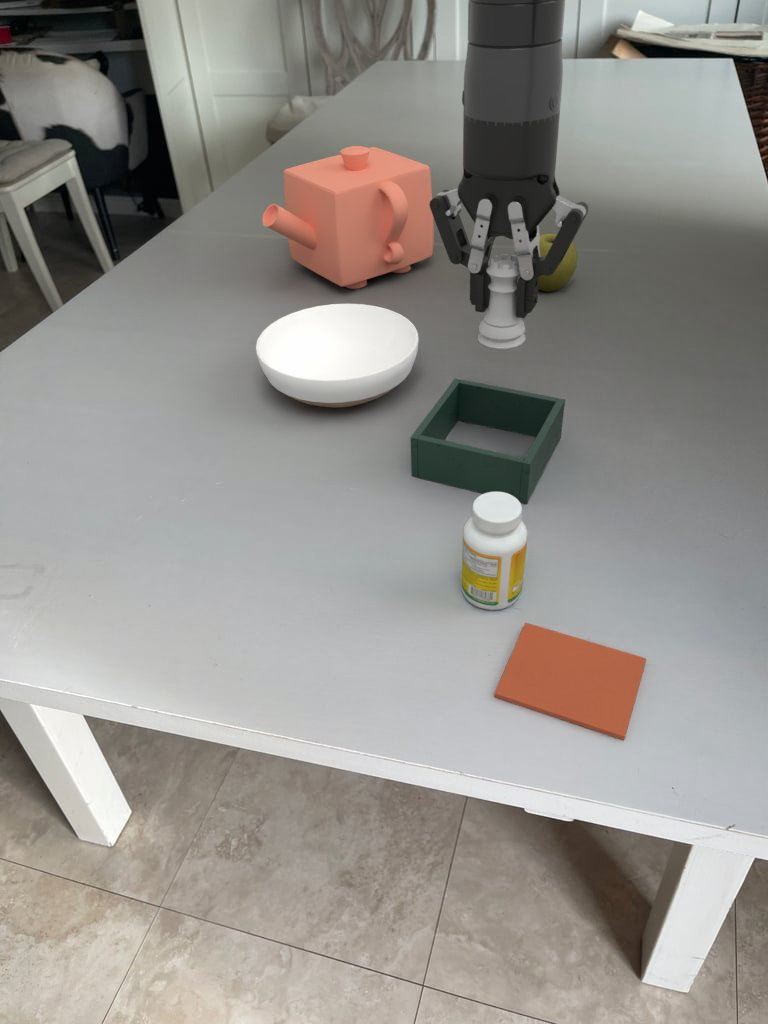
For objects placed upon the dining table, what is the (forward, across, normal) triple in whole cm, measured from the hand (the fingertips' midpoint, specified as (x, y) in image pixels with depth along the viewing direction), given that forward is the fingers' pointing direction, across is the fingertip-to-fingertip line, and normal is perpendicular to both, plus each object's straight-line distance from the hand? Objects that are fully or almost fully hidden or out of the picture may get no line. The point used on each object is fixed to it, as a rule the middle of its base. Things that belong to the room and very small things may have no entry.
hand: (502, 310), depth 74 cm
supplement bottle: (+19, -5, +17) cm, 26 cm away
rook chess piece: (+3, 0, 0) cm, 3 cm away
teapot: (+17, +39, -40) cm, 58 cm away
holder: (+18, +2, -2) cm, 18 cm away
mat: (+19, -14, +24) cm, 34 cm away
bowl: (+18, +24, -10) cm, 31 cm away
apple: (+18, +8, -46) cm, 50 cm away
